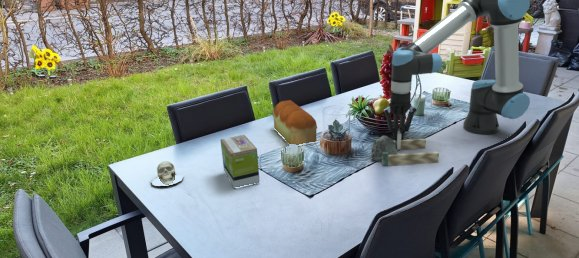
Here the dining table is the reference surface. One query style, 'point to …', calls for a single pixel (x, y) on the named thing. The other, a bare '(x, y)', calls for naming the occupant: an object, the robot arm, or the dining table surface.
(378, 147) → the stone
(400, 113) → the robot arm
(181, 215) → the dining table surface
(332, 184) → the dining table surface
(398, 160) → the chevron patterned bars
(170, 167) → the skull
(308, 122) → the bread
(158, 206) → the dining table surface
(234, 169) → the tea box
